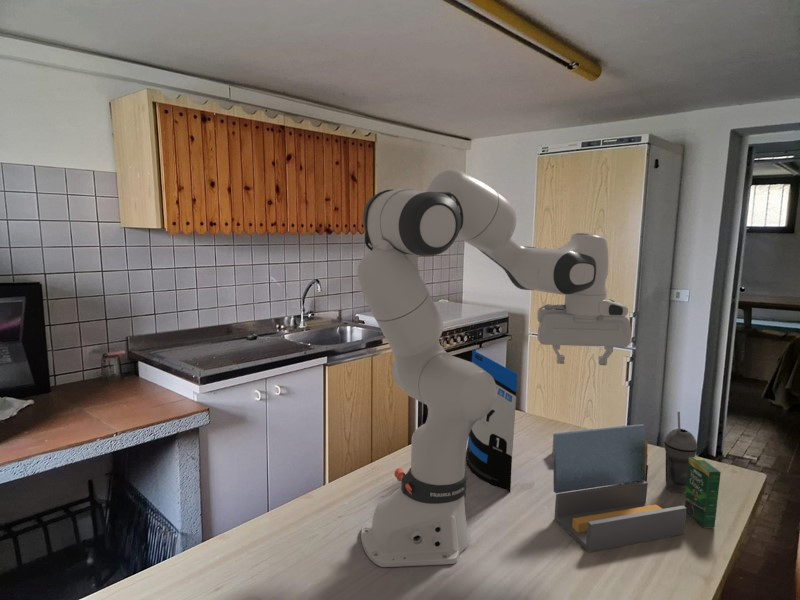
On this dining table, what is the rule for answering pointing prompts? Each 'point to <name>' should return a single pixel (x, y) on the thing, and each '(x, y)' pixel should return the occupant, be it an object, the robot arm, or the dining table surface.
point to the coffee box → (702, 491)
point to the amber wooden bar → (609, 516)
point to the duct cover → (598, 457)
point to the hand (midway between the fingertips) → (581, 363)
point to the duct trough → (621, 527)
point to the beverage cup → (678, 457)
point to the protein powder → (494, 429)
